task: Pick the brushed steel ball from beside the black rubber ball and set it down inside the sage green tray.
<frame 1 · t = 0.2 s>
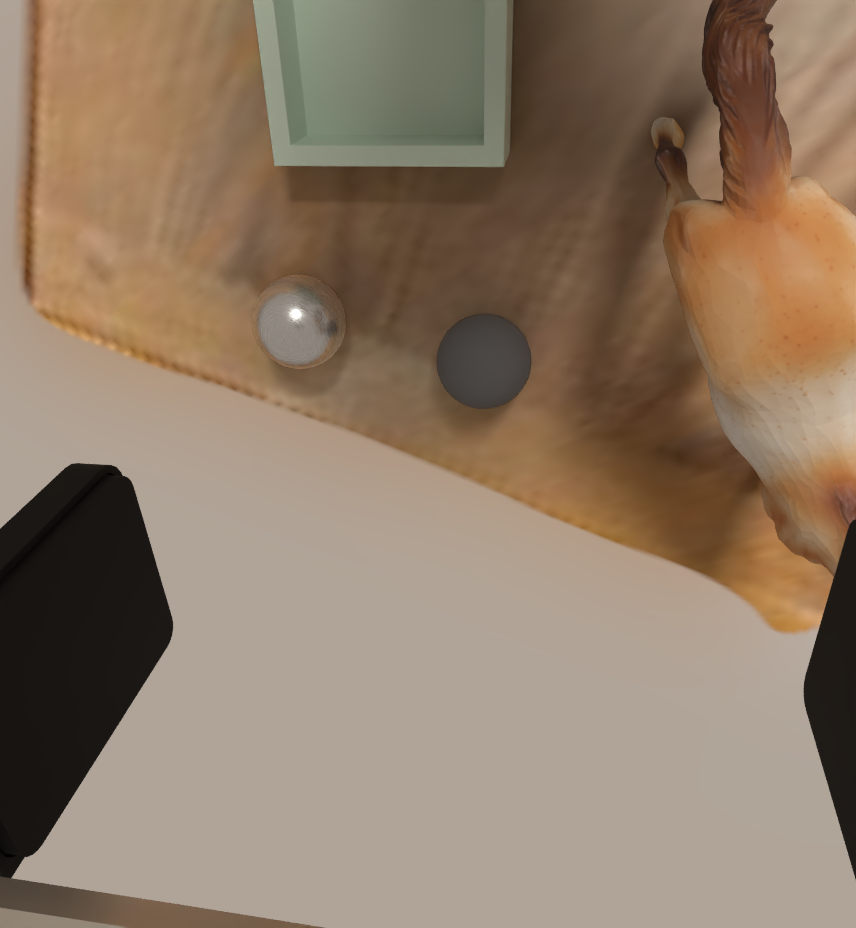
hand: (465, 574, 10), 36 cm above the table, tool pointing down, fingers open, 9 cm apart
rubber ball: (489, 342, 48), on the table
horse figurine: (805, 250, 42), on the table
tray: (394, 27, 39), on the table
steel ball: (313, 305, 48), on the table
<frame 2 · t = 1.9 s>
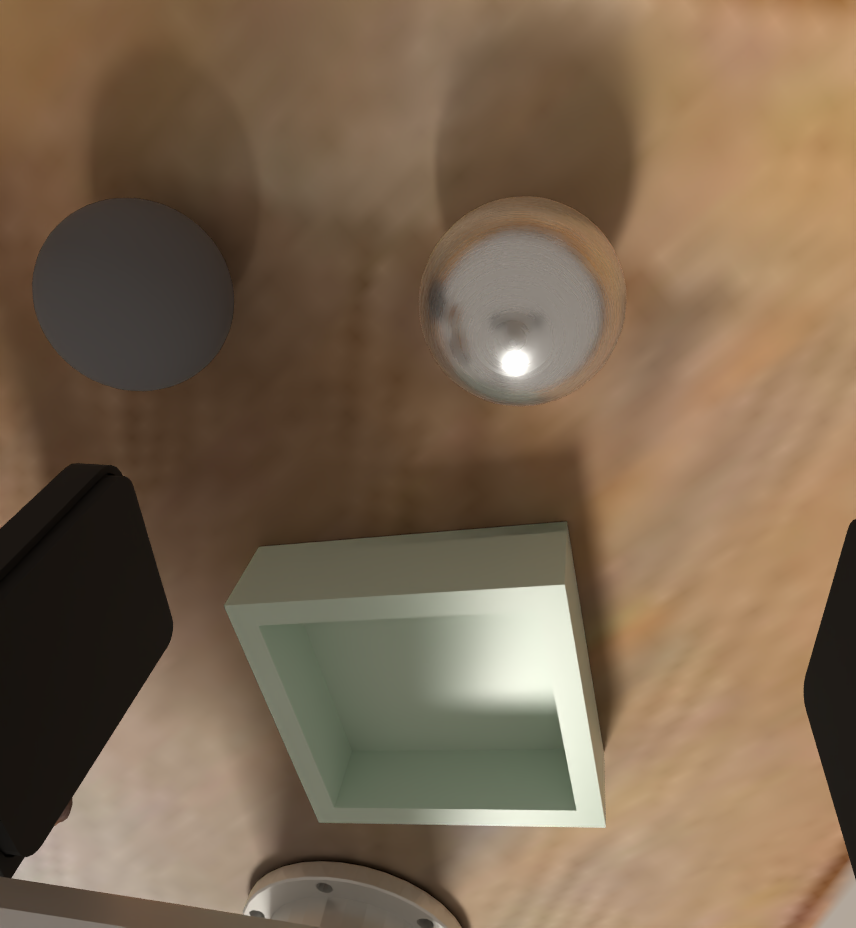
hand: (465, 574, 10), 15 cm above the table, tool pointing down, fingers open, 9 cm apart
rubber ball: (178, 269, 25), on the table
tray: (438, 654, 32), on the table
steel ball: (527, 273, 23), on the table
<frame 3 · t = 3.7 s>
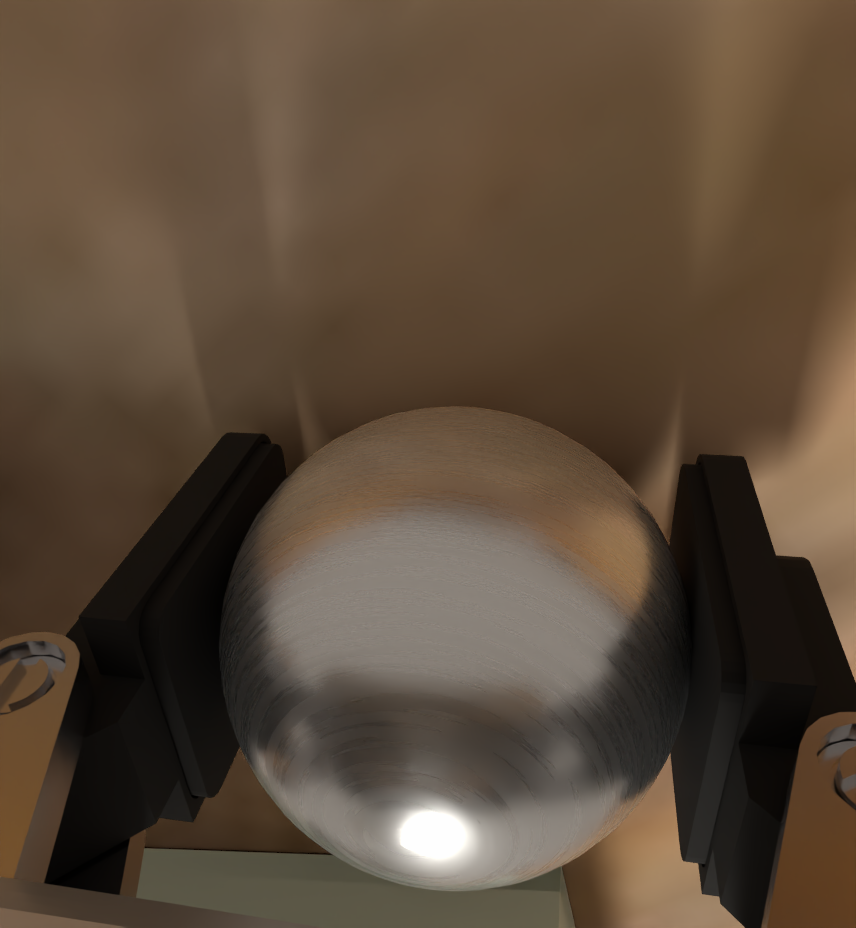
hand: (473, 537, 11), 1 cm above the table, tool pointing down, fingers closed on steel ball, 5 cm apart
steel ball: (480, 504, 12), on the table, touching gripper
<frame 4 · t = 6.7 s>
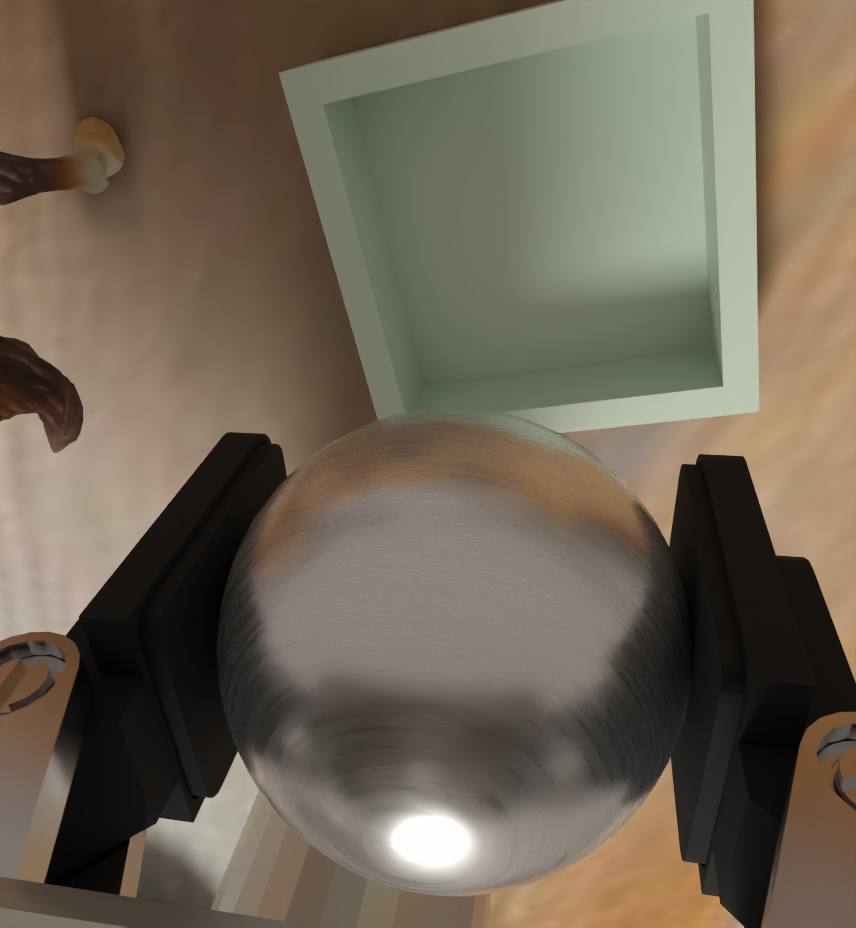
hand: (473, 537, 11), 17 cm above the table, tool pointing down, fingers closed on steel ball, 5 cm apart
tray: (539, 220, 25), on the table
steel ball: (479, 506, 12), point 16 cm above the table, touching gripper
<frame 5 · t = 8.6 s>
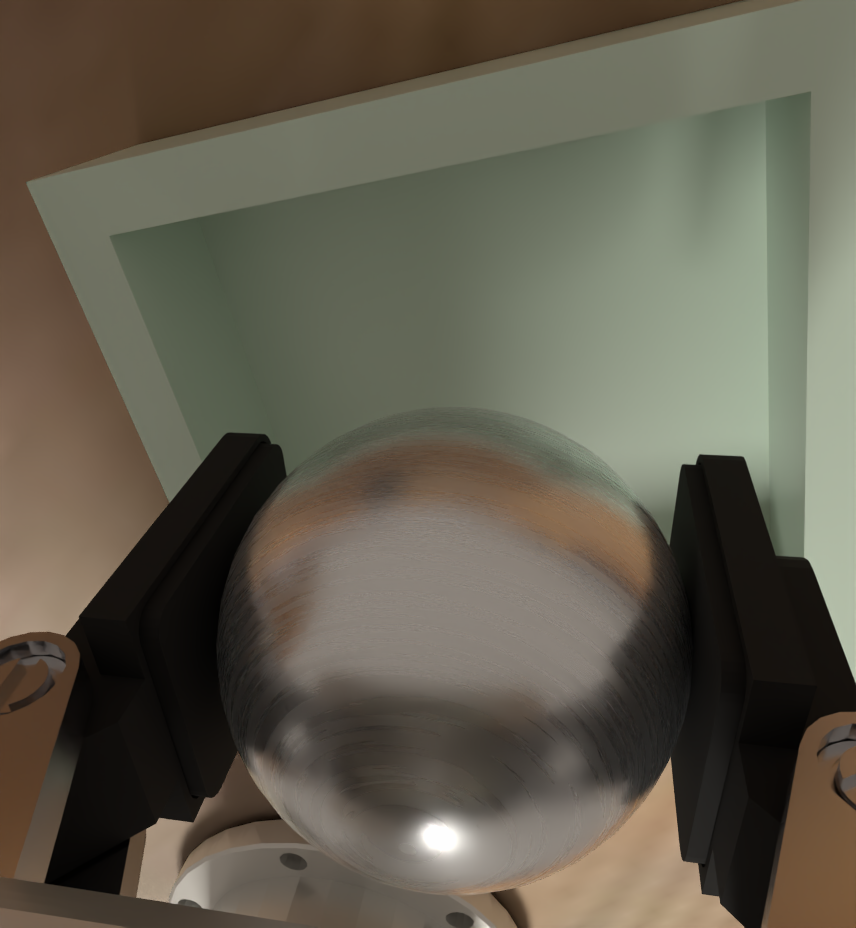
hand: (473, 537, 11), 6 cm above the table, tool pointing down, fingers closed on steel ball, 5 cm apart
tray: (502, 389, 16), on the table
steel ball: (479, 505, 12), point 5 cm above the table, touching gripper
when the fingers open (3 cm above the table, at t = 10.0 s): steel ball drops 2 cm, resting on tray.
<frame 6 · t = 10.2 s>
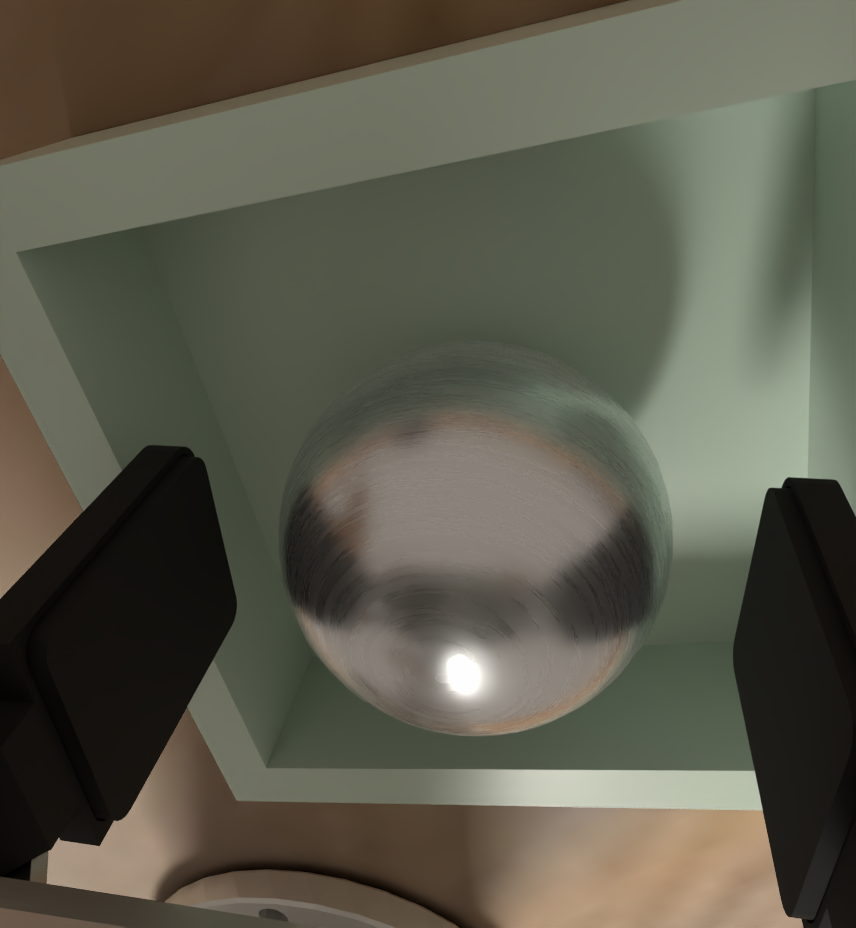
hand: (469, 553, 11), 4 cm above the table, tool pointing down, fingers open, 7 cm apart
tray: (497, 420, 14), on the table
steel ball: (493, 439, 13), point 1 cm above the table, touching tray
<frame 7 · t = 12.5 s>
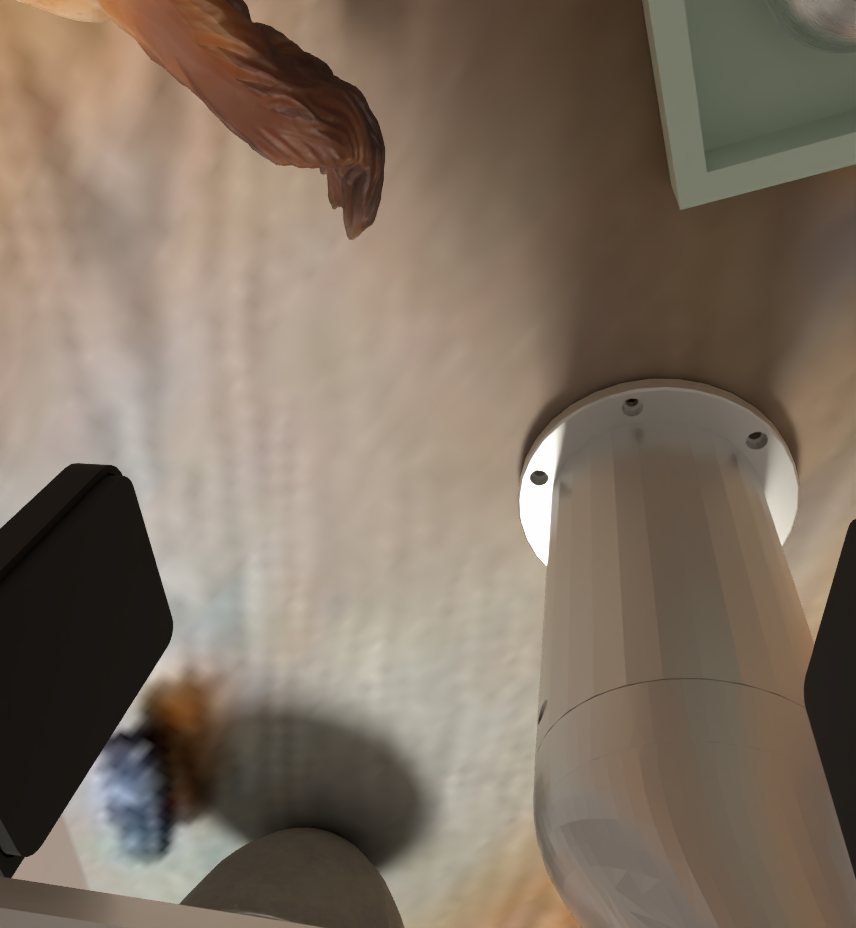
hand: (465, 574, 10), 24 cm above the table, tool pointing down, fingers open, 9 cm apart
bowl: (324, 847, 60), on the table
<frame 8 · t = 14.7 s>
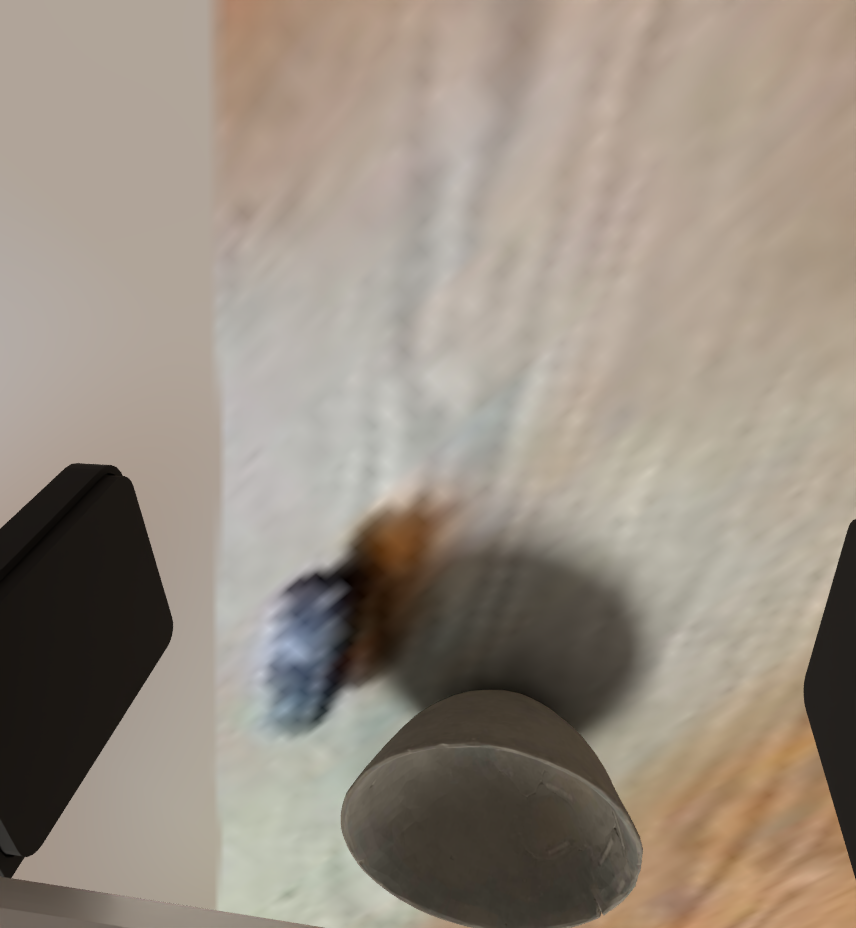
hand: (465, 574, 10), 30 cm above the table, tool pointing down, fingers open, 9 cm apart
bowl: (503, 719, 57), on the table
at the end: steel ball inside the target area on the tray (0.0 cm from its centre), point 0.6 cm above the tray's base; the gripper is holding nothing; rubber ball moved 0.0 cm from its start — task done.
